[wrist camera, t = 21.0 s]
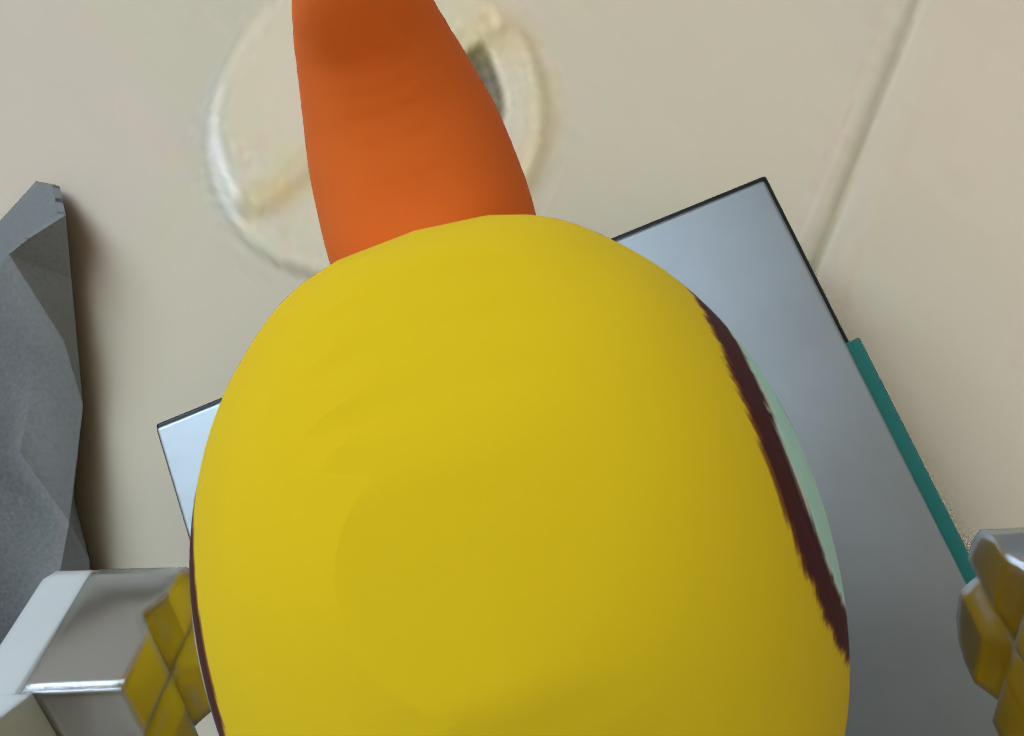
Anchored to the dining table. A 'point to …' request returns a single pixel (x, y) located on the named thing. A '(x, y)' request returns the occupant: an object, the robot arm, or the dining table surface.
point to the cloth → (37, 402)
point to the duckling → (495, 456)
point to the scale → (829, 451)
